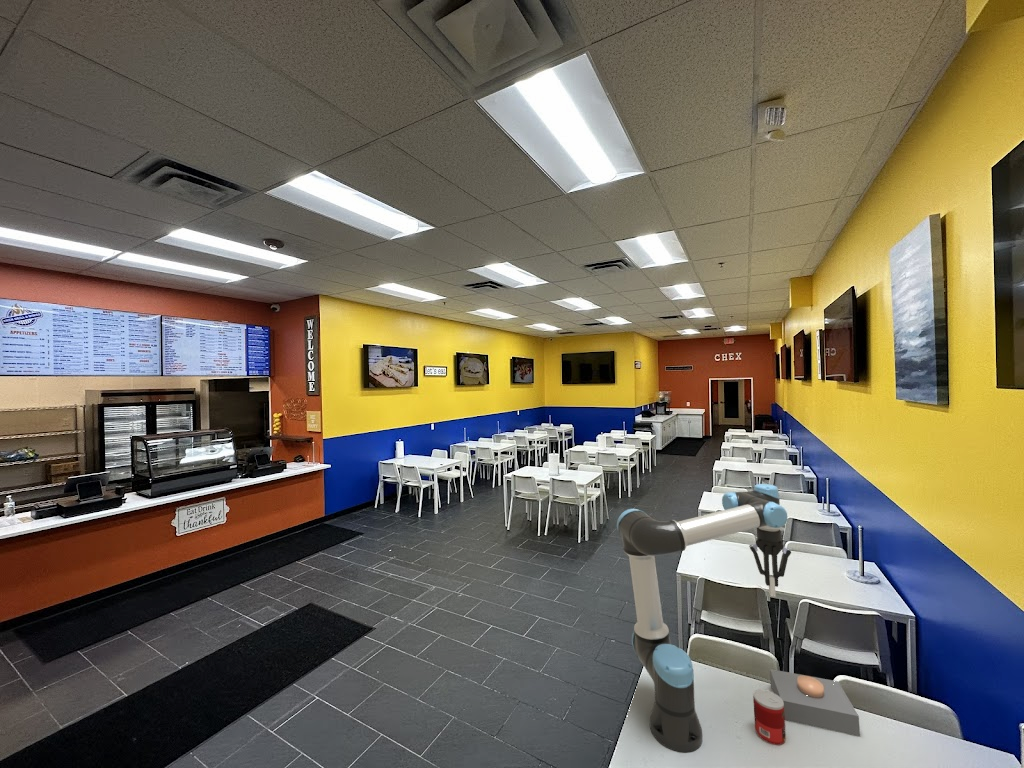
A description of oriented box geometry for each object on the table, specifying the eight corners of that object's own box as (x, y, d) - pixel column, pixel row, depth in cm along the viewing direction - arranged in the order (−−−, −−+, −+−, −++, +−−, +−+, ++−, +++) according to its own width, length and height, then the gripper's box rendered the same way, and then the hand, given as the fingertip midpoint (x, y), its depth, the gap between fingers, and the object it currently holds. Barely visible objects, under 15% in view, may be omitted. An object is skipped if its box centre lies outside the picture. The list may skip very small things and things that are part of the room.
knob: (802, 712, 131) (800, 687, 132) (795, 697, 138) (794, 673, 138) (828, 717, 129) (826, 692, 129) (820, 702, 135) (819, 678, 136)
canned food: (790, 747, 119) (788, 709, 120) (760, 743, 121) (758, 705, 121) (779, 726, 127) (777, 690, 127) (751, 723, 128) (749, 687, 129)
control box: (782, 719, 130) (781, 700, 130) (770, 686, 144) (769, 669, 145) (860, 736, 122) (858, 716, 123) (839, 699, 137) (838, 681, 137)
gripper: (749, 529, 145) (753, 597, 144) (792, 533, 140) (796, 602, 139) (746, 523, 152) (749, 587, 151) (786, 526, 147) (790, 592, 146)
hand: (772, 594), depth 145 cm, fingers closed
